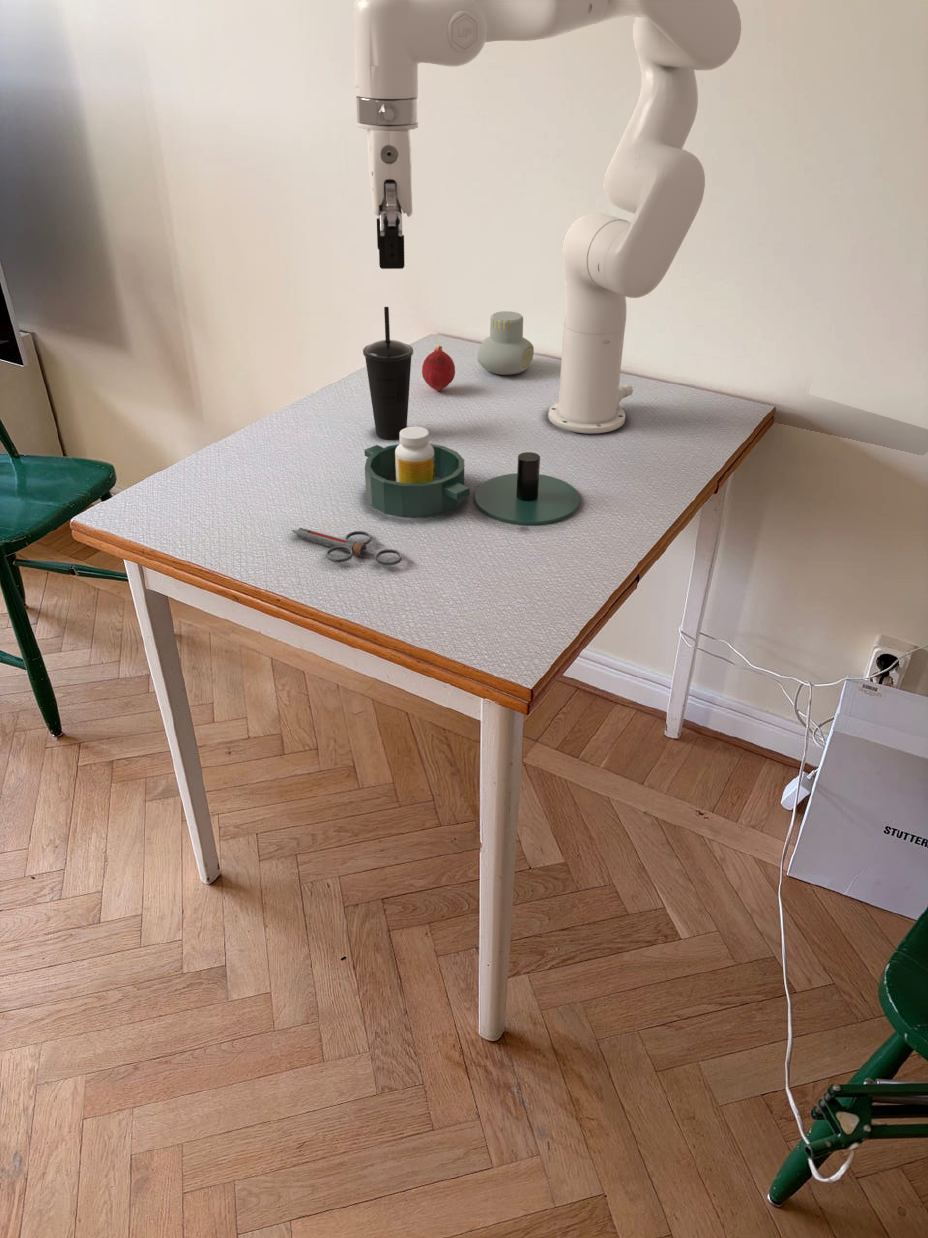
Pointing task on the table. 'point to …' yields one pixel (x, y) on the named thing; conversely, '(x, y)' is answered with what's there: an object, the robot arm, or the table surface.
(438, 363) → the onion
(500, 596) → the table surface
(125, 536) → the table surface
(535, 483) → the lid
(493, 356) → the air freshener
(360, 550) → the syringe
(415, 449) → the supplement bottle
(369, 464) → the pot
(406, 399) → the drinking cup
